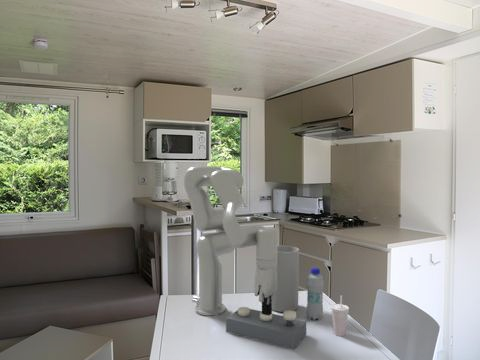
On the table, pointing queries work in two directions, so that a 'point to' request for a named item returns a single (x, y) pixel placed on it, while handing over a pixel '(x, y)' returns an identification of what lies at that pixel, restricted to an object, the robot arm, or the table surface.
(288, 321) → the knob
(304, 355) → the table surface
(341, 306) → the smoothie
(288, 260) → the cylinder vase
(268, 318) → the knob middle
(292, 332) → the control panel
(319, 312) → the bottle
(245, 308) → the knob
